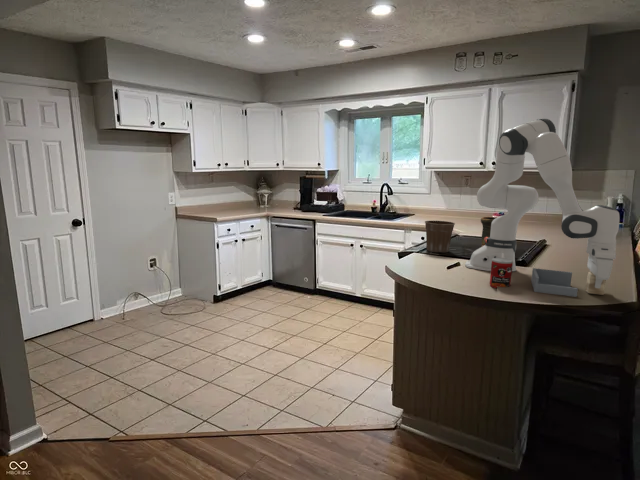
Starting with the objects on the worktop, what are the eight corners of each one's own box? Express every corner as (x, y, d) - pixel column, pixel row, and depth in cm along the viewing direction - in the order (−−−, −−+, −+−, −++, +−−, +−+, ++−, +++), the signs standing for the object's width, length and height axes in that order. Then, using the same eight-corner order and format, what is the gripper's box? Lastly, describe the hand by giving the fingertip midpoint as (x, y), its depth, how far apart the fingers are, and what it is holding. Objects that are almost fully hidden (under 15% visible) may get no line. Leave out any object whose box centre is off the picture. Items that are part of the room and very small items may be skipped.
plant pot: (429, 246, 249) (431, 219, 246) (456, 250, 240) (459, 222, 237) (418, 251, 236) (420, 222, 233) (446, 255, 227) (449, 225, 224)
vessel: (500, 258, 222) (503, 220, 218) (474, 254, 231) (476, 217, 228) (510, 254, 232) (513, 218, 229) (484, 251, 242) (487, 216, 238)
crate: (533, 294, 161) (535, 277, 160) (531, 283, 176) (532, 268, 175) (576, 299, 156) (578, 282, 155) (569, 287, 171) (571, 272, 170)
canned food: (489, 288, 168) (492, 260, 166) (489, 282, 175) (491, 256, 173) (510, 290, 165) (513, 262, 163) (509, 285, 173) (512, 258, 171)
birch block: (588, 293, 159) (590, 274, 158) (585, 289, 164) (588, 271, 163) (603, 294, 157) (606, 276, 156) (600, 291, 162) (603, 273, 161)
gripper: (585, 243, 168) (580, 277, 171) (596, 253, 150) (590, 291, 152) (604, 245, 166) (599, 279, 168) (617, 255, 147) (611, 294, 150)
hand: (595, 285), depth 160 cm, fingers closed on birch block, 5 cm apart
